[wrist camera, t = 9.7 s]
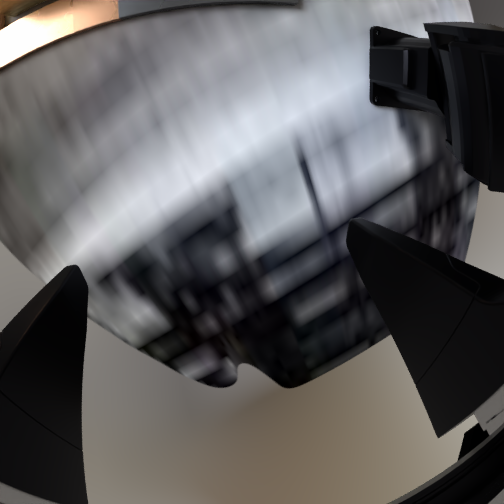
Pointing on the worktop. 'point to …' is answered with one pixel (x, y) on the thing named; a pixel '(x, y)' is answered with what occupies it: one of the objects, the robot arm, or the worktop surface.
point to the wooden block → (17, 6)
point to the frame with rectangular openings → (85, 21)
